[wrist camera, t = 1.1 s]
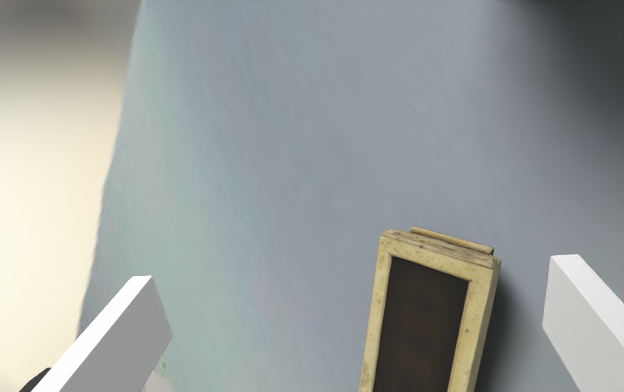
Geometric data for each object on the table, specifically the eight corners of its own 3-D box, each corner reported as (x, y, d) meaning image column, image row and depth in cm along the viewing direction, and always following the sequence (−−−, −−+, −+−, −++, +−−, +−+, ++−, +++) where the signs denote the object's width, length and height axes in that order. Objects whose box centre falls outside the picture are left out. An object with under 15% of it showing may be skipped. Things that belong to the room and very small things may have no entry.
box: (515, 243, 27) (494, 261, 24) (465, 509, 32) (441, 560, 28) (405, 217, 32) (373, 228, 29) (376, 450, 37) (346, 486, 33)
